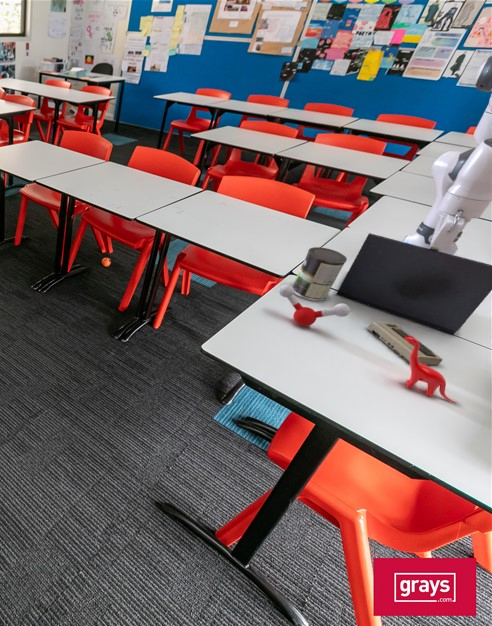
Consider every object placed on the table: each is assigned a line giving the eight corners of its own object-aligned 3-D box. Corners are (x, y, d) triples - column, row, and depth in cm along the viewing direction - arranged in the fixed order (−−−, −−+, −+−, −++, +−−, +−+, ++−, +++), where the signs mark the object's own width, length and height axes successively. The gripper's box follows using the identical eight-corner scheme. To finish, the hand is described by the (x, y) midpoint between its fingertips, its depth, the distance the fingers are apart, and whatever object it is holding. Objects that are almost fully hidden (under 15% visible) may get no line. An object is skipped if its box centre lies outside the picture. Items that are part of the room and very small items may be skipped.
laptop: (349, 273, 150) (351, 268, 149) (457, 307, 134) (461, 302, 133) (335, 294, 138) (338, 289, 136) (453, 334, 121) (457, 329, 120)
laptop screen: (369, 232, 123) (368, 234, 123) (508, 269, 106) (508, 270, 106) (338, 290, 136) (337, 291, 136) (457, 330, 120) (457, 331, 120)
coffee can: (286, 292, 138) (304, 253, 130) (296, 281, 144) (314, 244, 136) (321, 305, 132) (342, 265, 124) (330, 293, 138) (350, 255, 130)
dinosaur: (456, 408, 97) (492, 368, 90) (378, 378, 104) (406, 339, 97) (455, 399, 99) (490, 359, 92) (379, 370, 107) (406, 331, 100)
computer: (439, 365, 109) (447, 355, 107) (410, 365, 109) (418, 356, 107) (392, 329, 122) (398, 320, 120) (366, 329, 122) (371, 320, 120)
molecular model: (337, 333, 119) (354, 304, 114) (332, 341, 116) (349, 312, 110) (272, 308, 129) (284, 280, 124) (266, 315, 126) (279, 286, 120)
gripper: (477, 219, 101) (442, 270, 109) (478, 200, 113) (447, 247, 121) (443, 212, 104) (412, 261, 112) (448, 194, 117) (419, 240, 125)
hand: (430, 254), depth 117 cm, fingers closed
